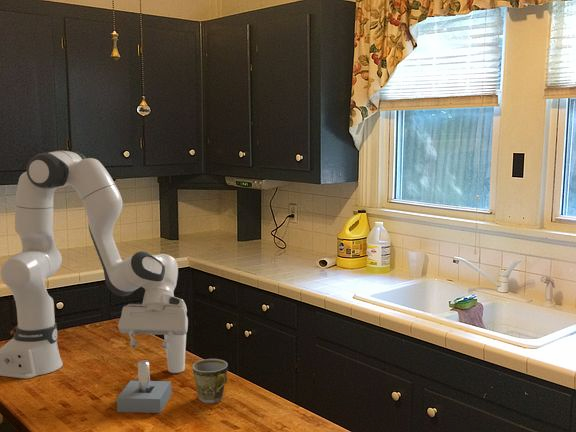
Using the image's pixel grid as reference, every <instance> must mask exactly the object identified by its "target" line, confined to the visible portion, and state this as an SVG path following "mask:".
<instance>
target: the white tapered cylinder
mask: <svg viewBox="0 0 576 432" xmlns="http://www.w3.org/2000/svg"><path fill="white" fill-rule="evenodd" d="M163 336H164V337H163V338H164V340H166V339H167V338H168V337H169V336H168V335H163ZM186 347H187V333H186V334H185V335H174V338H173V340H172V341H171V342H170V343H169V346H168V348H165V352H166V354H165V355H166V361H167V371H168V372H169V373H170V374H180V373H182V372H184V371H185V370H186V363H185V362H186Z"/></svg>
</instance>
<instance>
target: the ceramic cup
mask: <svg viewBox="0 0 576 432" xmlns="http://www.w3.org/2000/svg"><path fill="white" fill-rule="evenodd" d="M228 367H229V364H228V362H227V361H226V360H223V359H219V358H208V359H207V358H206V359H202V360H201V359H200V360H198V361H196V362H194V363H193V364H192V373H193V378H194V382H195V387H196V392H197V396H198V400H199V401H201V402H202V403H204V404H216V403H218V402H221V401H222V399H223V397H224V389H225V385H226V384H227V383H228V378H227V374H228Z"/></svg>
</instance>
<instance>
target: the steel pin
mask: <svg viewBox="0 0 576 432" xmlns="http://www.w3.org/2000/svg"><path fill="white" fill-rule="evenodd" d="M150 367H151V366H150V361H149V360H147V359H142V360H140V361H139V360H138V361H137V381H138V385H139V393H151V392H150V381H151V376H150V375H151V374H150V373H151V370H150Z"/></svg>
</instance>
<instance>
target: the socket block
mask: <svg viewBox="0 0 576 432" xmlns="http://www.w3.org/2000/svg"><path fill="white" fill-rule="evenodd" d="M150 392H151V393H139V385H138V380H129V382H128V383H127V384H126V386H125V387H124V388H123V390H121V392H120V393H119V394H118V396H117V397H116V410H117V411H116V412H117V413H146V414H148V413H149V414H150V413H151V414H152V413H153V414H161V413H162V412H163V410H164V408H165V406H166V404H167V402H168V401H169V399H170V398H171V396H172V395H173V394H172V381H165V380H150Z"/></svg>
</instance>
